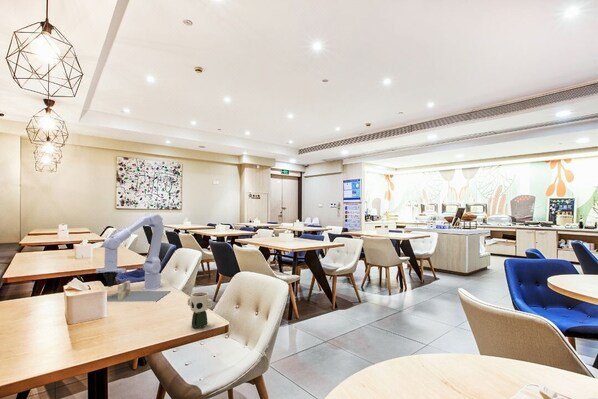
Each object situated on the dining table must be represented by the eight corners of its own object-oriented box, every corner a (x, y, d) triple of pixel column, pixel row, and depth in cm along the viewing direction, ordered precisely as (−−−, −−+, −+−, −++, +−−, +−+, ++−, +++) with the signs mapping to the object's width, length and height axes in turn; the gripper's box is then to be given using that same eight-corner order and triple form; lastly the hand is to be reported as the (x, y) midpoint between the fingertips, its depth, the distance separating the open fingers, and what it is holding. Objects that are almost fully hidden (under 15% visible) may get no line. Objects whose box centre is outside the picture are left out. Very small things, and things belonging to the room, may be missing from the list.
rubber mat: (120, 292, 168) (120, 291, 168) (170, 291, 168) (170, 291, 168) (100, 302, 150) (100, 301, 150) (156, 302, 150) (156, 301, 150)
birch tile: (126, 294, 161) (127, 280, 161) (130, 294, 161) (130, 280, 161) (117, 299, 152) (117, 285, 152) (120, 299, 152) (120, 285, 152)
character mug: (182, 328, 119) (182, 295, 119) (192, 321, 126) (192, 290, 126) (207, 330, 116) (207, 297, 117) (215, 323, 123) (216, 292, 124)
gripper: (92, 262, 153) (91, 288, 152) (120, 262, 153) (120, 288, 153) (100, 259, 160) (100, 284, 159) (128, 259, 160) (127, 284, 160)
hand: (110, 286), depth 157 cm, fingers closed
